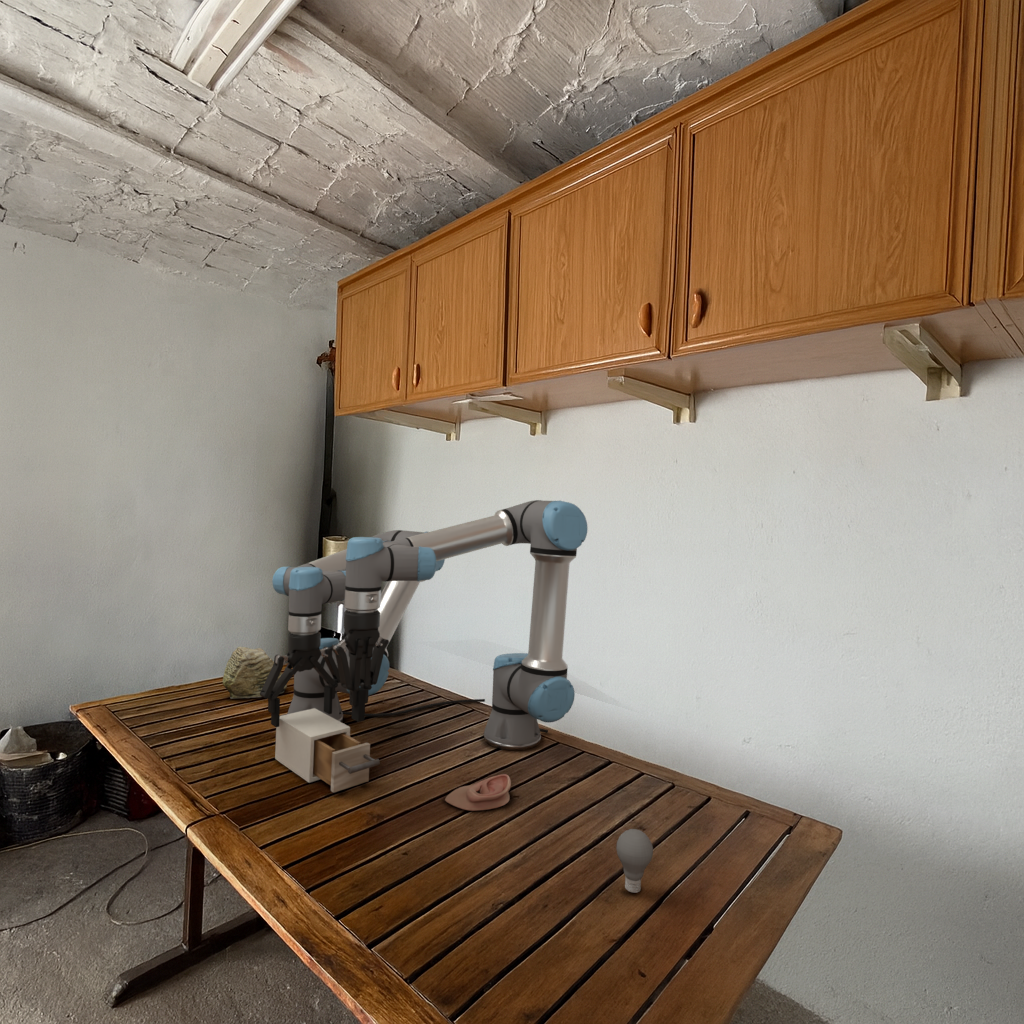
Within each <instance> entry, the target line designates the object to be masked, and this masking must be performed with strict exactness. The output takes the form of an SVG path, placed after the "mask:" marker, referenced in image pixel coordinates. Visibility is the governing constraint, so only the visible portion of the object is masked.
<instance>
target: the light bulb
mask: <svg viewBox="0 0 1024 1024" xmlns="http://www.w3.org/2000/svg"><path fill="white" fill-rule="evenodd" d="M615 849H616V854H617V857H618V859H619V861H620V863H621V865H622V867H623V873H624V874H623V875H624V876H625V878H624V888H625V890H627V891H628V892H630V893H634V894H635V893H639V892H640V891H641V889H642V887H641V886H642V879H643V877H644V875H645V871H646V868H647V867H648V866H649V864H650V863H651V861H652V859H653V855H654V847H653V843H652V841H651V838H649V836H648V835H647V834H646V833H645V832H643V831H642V830H641V829H636V828H629V829H627V830H625V831H623V832H622V833H621V834H620V835H619V837H618V839H617V841H616V847H615Z"/></svg>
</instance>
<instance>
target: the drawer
mask: <svg viewBox="0 0 1024 1024" xmlns="http://www.w3.org/2000/svg"><path fill="white" fill-rule="evenodd" d="M380 763H381V762H380V759H379V758H376V759H375V758H373V757H371V743H369V742H364V743H361V741H359V740H357V739H355V738H353V737H351V735H350V736H348V735H346V734H344V733H340V734H336V735H332V736H329V737H325V738H321V739H317V740H314V760H313V774H314V775H316V776H317V777H319V778H320V780H321V781H323V782H324V783H326V784H327V785H329V786H330V792H332V793H333V794H335V793H337V792H340V791H343V790H346V789H349V788H352V787H355V786H359V785H361V784H364V783H367V782H369V781H370V769H371V768H374V767H376V766H379V765H380Z"/></svg>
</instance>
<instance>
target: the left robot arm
mask: <svg viewBox="0 0 1024 1024" xmlns="http://www.w3.org/2000/svg"><path fill="white" fill-rule="evenodd" d="M427 532H428V531H413V530H402V529H395V530H388V531H385V532H382V533H378V534H375V535H372V536H371V537H374V538H381V539H382V540H383V541H395V540H399V539H404V538H407V537H411V536H415V535H419V534H423V533H427ZM346 553H347V548H346V549H343V550H340V551H337V552H334V553H332V554H329V555H327V556H323V557H321V558H318V559H314V560H312V561H310V562H306V563H303V564H300V565H298V566H290V565H289V566H281V567H279V568H277V570H275V572H274V573H273V576H272V581H271V582H272V588H273V590H274V591H275V592H276V593H277V594H280V595H284V596H286V597H288V623H287V625H288V627H287V630H288V634H287V654H285V655H280V654H275V655H274V658H273V661H274V664H273V667H272V669H271V671H270V673H269V675H268V677H267V679H266V681H265V683H264V686H263V688H262V690H261V692H260V696H262V697H261V698H264V699H266V700H267V711H268V712H269V713H270V724H271V725H272V726H273V727H274V728H276V727H279V718H280V716H281V698H279V695H281V694H282V693H281V691H282V690H283V688H284V687H285V686H286V685H287V684H288V683H289V682H290V680H291V679H292V678H293V695H292V696H293V697H292V699H291V702H290V704H289V708H288V711H287V713H286V714H291V713H295V712H300V711H305V710H309V709H314V708H315V709H317V710H319V711H321V712H323V713H325V714H326V715H328V716H330V717H332V718H334V719H336V720H338V721H340V722H342V723H343V722H344V715H345V716H352V711H343V709H342V706H341V702H340V699H339V695H338V692H340V693H344V694H348V695H349V694H350V691H349V690H348V689H346V688H343V687H342V686H341V682H340V676H339V671H338V666H337V660H336V655H335V653H334V652H333V650H332V645H334V644H335V645H337V644H338V643H339V642H340V640H339V639H338V638H335V637H322V633H321V629H322V606H323V605H325V604H331V603H336V602H343V601H344V600H345V586H346ZM445 561H446V559H443V560H439V561H436V571H435V572H438V571H440V570H442V568H443V567H444V564H445ZM425 581H427V580H421V581H386V584H385V585H384V588H383V589H382V590H381V600H380V608H379V609H377V610H379V612H380V626H379V628H378V630H379V633H380V636H381V637H382V638H384V639H387V640H389V643H388V645H389V644H390V642H391V640H392V638H393V635H394V634H395V632H396V630H397V628H398V626H399V624H400V623H401V620H402V618H403V616H404V615H405V612H406V610H408V609H407V608H408V607H409V604H410V603H411V602H412V599H413V597H414V596H415V594H416V591H417V589H418V587H419V585H420V583H422V582H425ZM388 645H387V647H386V649H385V651H384V655H383V660H382V664H381V668H380V672H379V676H378V681H377V683H376V684H375V685H374V684H373V685H371V686H372V688H371V689H370V690H369V691H368V697H370V696H372V695H373V696H374V695H375V694H376V693H378V692H379V691H380V690H381V689H382V688H383V687H384V685H385V684H386V682H387V679H388V677H389V674H390V673H389V670H390V661H389V658H388V657H389V652H388V649H387V648H388ZM374 647H375V645H374ZM374 647H373V650H374ZM345 653H346V655H347V660H348V666H349V663H350V657H349V650H348V649H347V647H346V652H345ZM371 658H372V657H371ZM286 663H288V664H287V665H286ZM285 665H286V666H285ZM284 666H285V667H284ZM283 668H284V671H282V670H283ZM280 672H281V673H282V675H281V676H280V678H279V679H278V677H279V675H280ZM277 679H278V680H277ZM276 681H277V682H276ZM485 702H486V699H485V698H477V699H475V698H473V699H472V698H471V699H470V698H469V699H457V700H455V699H454V700H447V701H440V702H436V703H435V702H434V703H430V704H426V705H421V706H417V707H413V708H409V709H404V710H400V711H394V712H384V713H382V712H381V713H366V712H365V718H366V717H368V718H370V717H371V718H373V717H374V718H377V717H378V718H379V717H380V718H381V717H392V716H393V717H394V716H399V715H404V714H407V713H412V712H416V711H421V710H424V709H428V708H429V709H430V708H433V707H438V706H443V705H452V704H461V703H485Z"/></svg>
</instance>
